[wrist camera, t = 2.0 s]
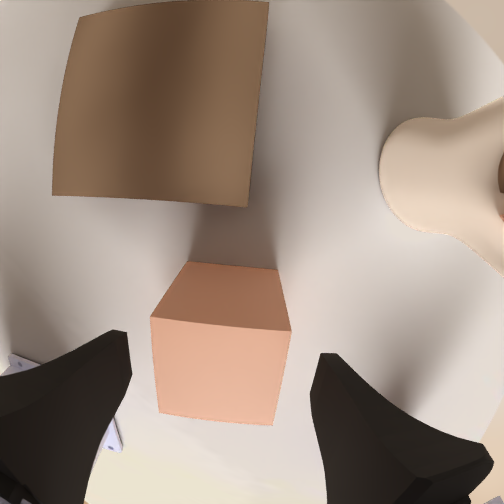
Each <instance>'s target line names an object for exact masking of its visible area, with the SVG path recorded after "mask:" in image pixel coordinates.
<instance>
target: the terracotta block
mask: <svg viewBox="0 0 504 504" xmlns="http://www.w3.org/2000/svg"><path fill="white" fill-rule="evenodd" d="M150 324H151V339H152V352H153V364H154V374H155V383H156V392H157V400H158V408H159V413H164V414H169V415H175V416H181V417H188V418H194V419H202V420H210V421H219V422H228V423H240V424H254V425H273V421H274V416H275V412H276V407H277V403H278V398H279V393H280V389H281V384H282V379H283V374H284V369H285V364H286V359H287V354H288V349H289V343H290V338H291V333H292V331H291V326H290V321H289V317H288V312H287V308H286V304H285V299H284V295H283V290H282V286H281V282H280V277H279V273H278V270H274V269H264V268H253V267H242V266H232V265H222V264H212V263H202V262H192V261H187V262H186V264H185V265H184V267H183V268H182V270H181V271H180V273H179V274H178V276H177V277H176V278H175V280H174V281H173V283H172V284H171V286H170V287H169V289H168V290H167V292H166V293H165V295H164V296H163V298H162V299H161V301H160V302H159V304H158V305H157V307H156V308H155V310H154V311H153V313H152V314H151V316H150Z"/></svg>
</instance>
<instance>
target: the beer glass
mask: <svg viewBox="0 0 504 504" xmlns="http://www.w3.org/2000/svg"><path fill="white" fill-rule="evenodd" d="M379 179H380V186H381V190H382V193H383V196H384V199H385V201H386V203H387V205H388V207H389V208H390V210H391V211H392V213H393V214H394V215H395V216H396V217H397V218H398V219H399V220H400V221H401V222H402V223H403V224H405V225H406V226H408V227H410V228H412V229H414V230H417V231H421V232H427V233H439V234H447V235H449V236H452V237H454V238H456V239H458V240H459V241H461V242H462V243H463V244H465V245H466V246H467V247H469V248H470V249H471V250H472V251H474V252H475V253H476V254H477V255H478V256H479V257H481V258H482V259H483V260H484V261H485V262H486V263H487V264H488V265H490V266H491V267H492V268H493V269H494V270H495V271H496V272H497V273H499V274H500V275H501V276H502V277H503V278H504V96H502V97H500V98H498V99H496V100H494V101H492V102H490V103H488V104H486V105H484V106H482V107H480V108H478V109H476V110H474V111H472V112H470V113H468V114H466V115H463V116H461V117H458V118H454V119H438V118H429V117H419V118H413V119H410V120H407V121H405V122H403V123H401V124H400V125H399V126H398V127H396V128H395V129H394V130H393V131H392V133H391V134H390V135H389V137H388V138H387V140H386V142H385V144H384V146H383V149H382V152H381V156H380V162H379Z"/></svg>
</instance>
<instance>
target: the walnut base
mask: <svg viewBox="0 0 504 504" xmlns="http://www.w3.org/2000/svg"><path fill="white" fill-rule="evenodd" d="M268 10H269V2H259V1H244V0H188V1H172V2H161V3H152V4H144V5H137V6H131V7H125V8H119V9H114V10H109V11H104V12H99V13H95V14H91V15H87V16H83V17H79V21H78V24H77V27H76V31H75V34H74V38H73V41H72V45H71V49H70V53H69V57H68V61H67V66H66V70H65V75H64V80H63V85H62V91H61V97H60V103H59V110H58V117H57V125H56V134H55V145H54V158H53V179H52V196H86V197H110V198H130V199H147V200H163V201H177V202H190V203H203V204H215V205H226V206H237V207H247V205H248V200H249V190H250V180H251V170H252V160H253V150H254V141H255V131H256V122H257V112H258V103H259V94H260V85H261V75H262V66H263V57H264V48H265V40H266V31H267V21H268Z"/></svg>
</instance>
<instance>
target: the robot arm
mask: <svg viewBox="0 0 504 504" xmlns="http://www.w3.org/2000/svg"><path fill="white" fill-rule="evenodd" d="M8 359H9V362H10V366H9V367H8V368H7V369H6V370H5V371H4V372H3V373H2V374H1V375H0V504H83V503H84V498H85V494H86V489H87V485H88V481H89V477H90V474H91V472H92V470H93V468H94V465H95V463H96V461H97V459H98V457H99V454H100V452H101V450H102V448H104V449H108V450H111V451H114V452H118V453H120V452H122V450H123V447H122V444H121V441H120V438H119V434H118V431H117V428H116V425H115V421H114V418H113V417H114V415H115V413H116V411H117V409H118V407H119V406H120V404H121V402H122V400H123V398H124V396H125V394H126V391H127V388H128V385H129V383H130V380H131V377H132V368H131V361H130V354H129V346H128V338H127V332H123V331H118V330H111V331H108V332H106V333H104V334H102V335H101V336H99V337H97V338H95V339H93V340H92V341H90V342H88V343H86V344H84V345H82V346H80V347H79V348H77V349H75V350H73V351H71V352H69V353H67V354H65V355H63V356H61V357H59V358H57V359H54V360H52V361H50V362H48V363H45V364H43V365H40V364H37V363H35V362H32V361H29V360H27V359H24V358H22V357H19V356H17V355H14V354H10V355H9V356H8ZM310 403H311V412H312V419H313V423H314V427H315V431H316V435H317V440H318V444H319V448H320V452H321V456H322V460H323V465H324V471H325V480H326V490H327V504H471V500H470V498H469V496H468V495H469V494H470V493H471V492H472V491H473V490H474V489H475V488H476V487H477V486H478V485H479V484H480V483H481V482H482V481H483V480H484V479H485V478H486V477H487V475H488V474H489V473H490V471H491V470H492V468H493V464H494V461H493V459H492V458H491V456H490V455H489V453H488V451H487V450H486V448H485V447H484V445H483V444H481V443H477V442H473V441H469V440H465V439H462V438H458V437H455V436H452V435H450V434H447V433H444V432H442V431H439V430H437V429H435V428H433V427H430V426H429V425H427V424H425V423H423V422H421V421H419V420H417V419H415V418H413V417H412V416H410V415H408V414H407V413H405V412H404V411H402V410H401V409H399V408H398V407H396V406H395V405H393V404H392V403H391V402H389V401H388V400H387V399H386V398H384V397H383V396H382V395H381V394H379V393H378V392H377V391H376V390H375V389H373V388H372V387H371V386H370V385H369V384H368V383H367V382H366V381H365V380H363V379H362V378H361V377H360V376H359V375H358V374H357V373H356V372H355V371H354V370H353V369H352V368H351V367H350V366H349V365H348V364H347V363H346V362H345V361H344V360H343V359H342V358H341V357H340V356H339V355H338V354H336V353H321V354H320V358H319V362H318V365H317V369H316V373H315V377H314V380H313V384H312V387H311V391H310ZM484 504H504V503H503V501H502V499H501V497H500V496H497V497H495V498H493V499H491V500H490V501H488V502H486V503H484Z"/></svg>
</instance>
